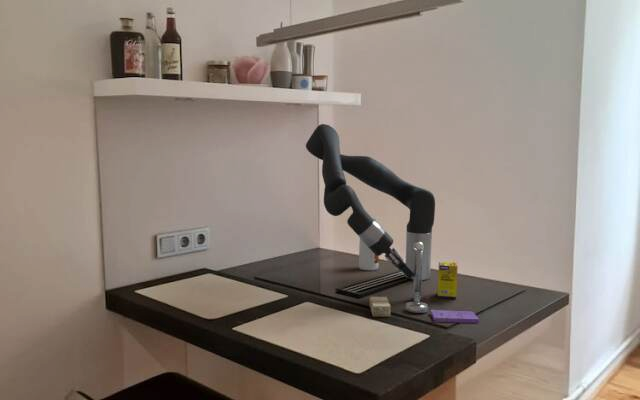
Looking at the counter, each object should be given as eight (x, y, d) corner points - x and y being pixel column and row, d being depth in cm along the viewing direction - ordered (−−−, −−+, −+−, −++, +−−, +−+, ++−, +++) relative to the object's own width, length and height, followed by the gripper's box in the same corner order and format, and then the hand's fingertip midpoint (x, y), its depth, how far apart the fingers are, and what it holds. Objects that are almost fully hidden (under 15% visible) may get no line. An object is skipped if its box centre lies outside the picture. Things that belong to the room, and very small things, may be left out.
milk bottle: (369, 271, 215) (370, 220, 212) (354, 268, 220) (355, 218, 218) (382, 269, 220) (383, 218, 218) (368, 265, 225) (369, 216, 223)
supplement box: (456, 299, 179) (457, 266, 178) (437, 298, 180) (438, 265, 179) (455, 294, 185) (457, 262, 184) (437, 293, 186) (438, 261, 185)
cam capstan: (427, 313, 162) (430, 252, 160) (405, 312, 164) (407, 251, 162) (427, 296, 180) (429, 241, 178) (407, 295, 181) (408, 240, 179)
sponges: (430, 315, 164) (430, 309, 163) (473, 316, 163) (473, 310, 163) (434, 323, 157) (434, 317, 156) (479, 325, 156) (479, 318, 156)
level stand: (369, 306, 170) (369, 296, 170) (386, 306, 170) (386, 296, 170) (373, 317, 159) (373, 307, 159) (391, 318, 159) (391, 307, 159)
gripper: (364, 241, 184) (399, 279, 185) (368, 250, 170) (406, 290, 172) (381, 226, 183) (416, 263, 185) (387, 233, 170) (424, 273, 172)
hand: (411, 276), depth 178 cm, fingers closed
